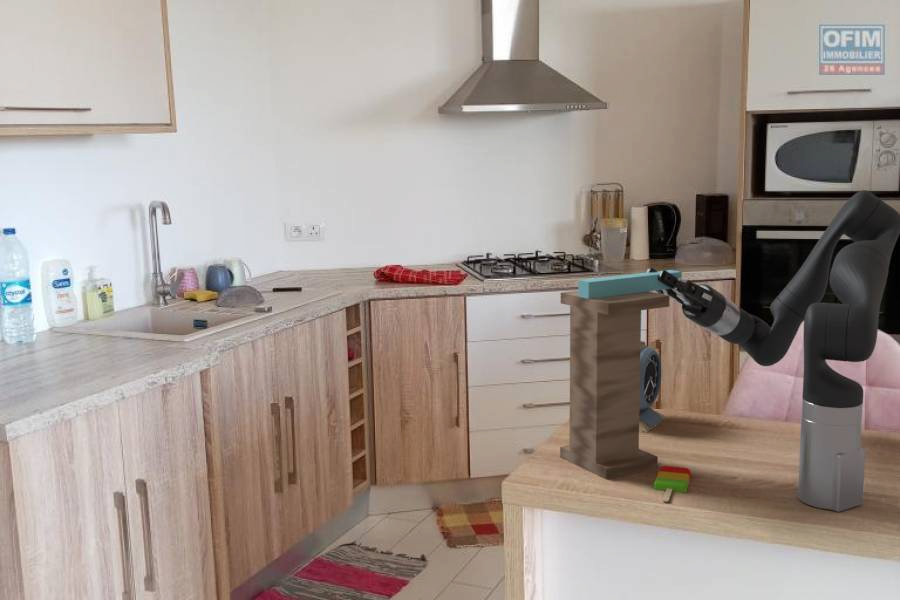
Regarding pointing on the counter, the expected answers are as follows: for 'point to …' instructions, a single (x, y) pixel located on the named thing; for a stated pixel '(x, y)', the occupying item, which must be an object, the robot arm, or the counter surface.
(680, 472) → the popsicle
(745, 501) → the counter surface
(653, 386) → the alarm clock
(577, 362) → the shelf stand
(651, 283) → the teal bar
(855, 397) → the robot arm
